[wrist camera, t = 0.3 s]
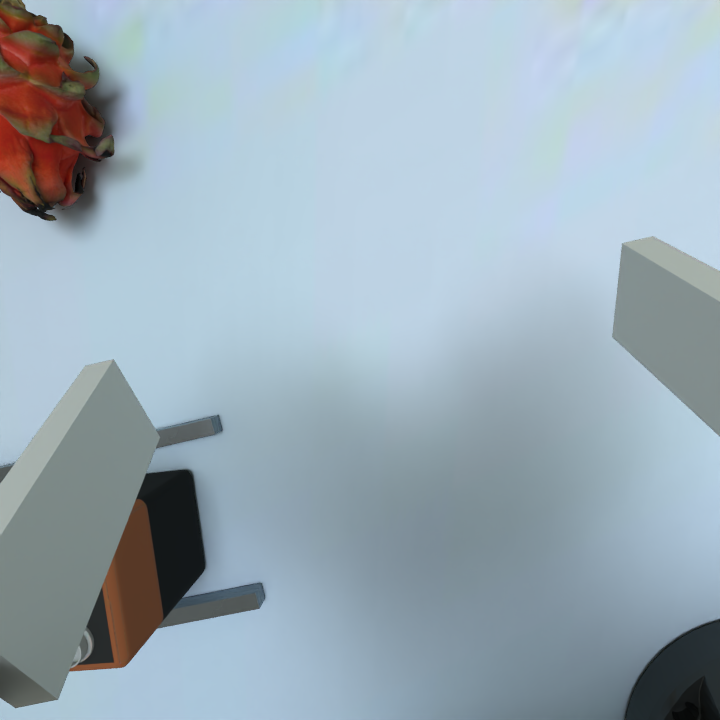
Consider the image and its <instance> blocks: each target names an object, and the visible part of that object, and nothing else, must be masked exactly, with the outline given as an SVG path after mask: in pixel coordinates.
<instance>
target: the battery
mask: <svg viewBox="0 0 720 720" xmlns="http://www.w3.org/2000/svg"><path fill="white" fill-rule="evenodd" d="M204 568H205V566H204V557H203V550H202V544H201V537H200V530H199V523H198V516H197V509H196V502H195V496H194V489H193V482H192V476H191V474H190V472H189V471H187V470H179V471H170V472H160V473H151V474H146V475H145V477H144V480H143V482H142V485H141V488H140V490H139V493H138V495H137V498H136V500H135V503H134V506H133V508H132V511H131V513H130V516H129V518H128V521H127V524H126V526H125V529H124V531H123V534H122V536H121V539H120V542H119V544H118V547H117V549H116V552H115V554H114V557H113V560H112V562H111V565H110V567H109V570H108V572H107V575H106V578H105V580H104V583H103V585H102V588H101V590H100V593H99V595H98V598H97V601H96V603H95V606H94V608H93V611H92V613H91V616H90V619H89V621H88V624H87V626H86V629H85V631H84V634H83V637H82V639H81V642H80V644H79V647H78V649H77V652H76V655H75V657H74V660H73V662H72V665H71V667H70V670H69V671H82V670H97V669H111V668H122V667H125V666H126V665H127V664H128V663H129V662H130V661H131V659H132V658H133V657H134V656H135V655H136V653H137V652H138V651H139V650H140V648H141V647H142V646H143V645H144V644H145V642H146V641H147V640H148V639H149V637H150V636H151V635H152V634H153V633H154V631H155V630H156V629H157V628H158V627H159V625H160V624H161V623H162V622H163V620H164V619H165V618H166V617H167V616H168V614H169V613H170V612H171V611H172V609H173V608H174V607H175V606H176V605H177V603H178V602H179V601H180V600H181V599H182V597H183V596H184V595H185V594H186V592H187V591H188V590H189V589H190V588H191V586H192V585H193V584H194V583H195V581H196V580H197V579H198V578H199V577H200V575H201V574H202V573H203V571H204Z"/></svg>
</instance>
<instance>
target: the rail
mask: <svg viewBox="0 0 720 720" xmlns="http://www.w3.org/2000/svg"><path fill="white" fill-rule="evenodd" d="M156 431H157V433H158V435H159V436H160V439H159V441H158V444H157V446H156V448H159V447H163V446H167V445H171V444H176V443H180V442H184V441H189V440H193V439H197V438H202V437H206V436H210V435H214V434H217V433H218V432H220V431H222V427H221V423H220V419H219V415H216V416H212V417H207V418H203V419H199V420H195V421H191V422H186V423H182V424H178V425H174V426H170V427H165V428H161V429H157V430H156ZM14 464H15V463H13V464H9V465H5V466H1V467H0V483H1V482H2V481H3V479H4V478H5V476H6V475H7V474H8V472H9V471H10V470H11V468H12V467H13V465H14ZM264 599H265V595H264V591H263V587H262V583H257V584H252V585H247V586H242V587H237V588H232V589H227V590H222V591H217V592H212V593H207V594H202V595H197V596H192V597H187V598H182V599H181V600H180V601H179V602H178V603H177V605H176V606H175V607H174V608H173V609H172V611H171V612H170V613H169V614H168V616H167V617H166V618H165V619H164V620H163V622H162V623H161V624H160V625H159V627H158V628H162V627H167V626H173V625H178V624H183V623H188V622H193V621H198V620H203V619H208V618H214V617H219V616H224V615H229V614H234V613H239V612H244V611H250V610H255V609H260V607H261V605H262V603H263V601H264Z"/></svg>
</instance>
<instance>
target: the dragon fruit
mask: <svg viewBox="0 0 720 720" xmlns="http://www.w3.org/2000/svg"><path fill="white" fill-rule="evenodd" d="M46 19H47V18H45V17H43V16H41V15H38V16H36V15H34V14H33V13H30V12H28V11H26V9H25V5H24V3H23V2H22V0H0V189H1V191H2V192H3V193H5V194H6V195H8V196H10V197H11V198H12V199H13V201H14V202H15V203H16V204H17V205H18V206H19V207H20V208H21V209H22V210H23V211H25V212H26V213H29V214H31V215H35V216H39V217H40V218H41V219H44V220H48V221H53V220H57V219H56V218H55V217H54V216H53V215H48V214H46V213H44V212H46V211H47V210H52V209H55V208H52V207H53V206H54V205H55V204H56V203H57V202H58V203H59V205H61V206H63V207H67V206H71V205H72V204H73V203H75V201H76V200H77V199H78V198H79V197H80V196H81V195H82V194H83V193H84V190H83V189H84V187H85V180H86V179H87V178H86V174H85V167H84V168H83V173H82V175H83V178H82V180H81V177H80V173H78V174H77V178H76V182H75V192H74V191H73V188H72V172H73V168H74V166H75V164H76V161H77V159H78V156H79V153H81V154H82V155H83V156H85V157H86V158H88V159H90V160H94V161H99V162H100V161H101V160H99V159H104V158H107V157H111V156H113V154H114V139H113V136H112V135H109V136H107V137H106V138H103V139H102V140H101V141H100V142H99V143H98V145H96V146H94V147H89V145H88V144H87V142H86V140H85V136H87V135H90V136H93V137H100V136H102V133H103V129H104V125H105V120H104V119H103V118H102V117H101V116H100V113H99V111H98V110H97V109H96V108H95V107H94V106H92V105H89V103H88V102H87V100H86V99H85V98H84V95H85V94H86V91H85V90H87V89H90V88H92V87H94V86H95V85H96V83H97V82H98V79H99V68H98V66H97V64H96V63H95V62H94V61H93V59H91V58H89V57H86V56H84V58H85V59H86V61H87V62H89V63H90V64H91V65H92V66H93V67H94V68H95V70H93V71H86V72H84V73H81V72H76V71H74V70H73V69H71V67H70V66H69V65H68V64H69V63H70V60H71V59H72V57H73V55H74V45H73V41H72V40H71V38H70V37H69V36H68V35H67V34H65V33H63V30H62V28H61V27H60V26H59V25H53V24H48V23H47V20H46ZM37 207H38V208H39V210H38V209H37ZM72 208H73V207H72ZM62 210H63V209H62Z"/></svg>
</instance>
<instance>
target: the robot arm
mask: <svg viewBox="0 0 720 720" xmlns="http://www.w3.org/2000/svg"><path fill="white" fill-rule="evenodd" d="M612 337H613V338H614V339H615V340H616V341H617V342H618V343H619V344H620V345H621V346H622V347H624V348H625V349H626V350H627V351H628V352H629V353H630V354H631V355H632V356H633V357H634V358H635V359H636V360H638V361H639V362H640V363H641V364H642V365H643V366H644V367H645V368H646V369H647V370H648V371H649V372H651V373H652V374H653V375H654V376H655V377H656V378H657V379H658V380H659V381H660V382H661V383H662V384H663V385H665V386H666V387H667V388H668V389H669V390H670V391H671V392H672V393H673V394H674V395H675V396H676V397H678V398H679V399H680V400H681V401H682V402H683V403H684V404H685V405H686V406H687V407H688V408H689V409H691V410H692V411H693V412H694V413H695V414H696V415H697V416H698V417H699V418H700V419H701V420H702V421H703V422H705V423H706V424H707V425H708V426H709V427H710V428H711V429H712V430H713V431H714V432H715V433H716V434H718V435H719V436H720V271H718V270H717V269H715V268H713V267H711V266H709V265H707V264H705V263H703V262H701V261H699V260H697V259H696V258H694V257H692V256H690V255H688V254H686V253H684V252H682V251H680V250H678V249H676V248H675V247H673V246H671V245H669V244H667V243H665V242H663V241H661V240H659V239H657V238H655V237H653V236H652V237H648V238H643V239H639V240H634V241H630V242H626V243H622V250H621V259H620V268H619V278H618V287H617V297H616V306H615V315H614V325H613V334H612ZM159 439H160V436H159V435H158V433H157V431H156V429H155V428H154V426H153V424H152V423H151V421H150V419H149V418H148V416H147V414H146V413H145V411H144V409H143V408H142V406H141V404H140V403H139V401H138V399H137V398H136V396H135V394H134V393H133V391H132V389H131V387H130V386H129V384H128V382H127V381H126V379H125V377H124V376H123V374H122V372H121V371H120V369H119V367H118V366H117V364H116V362H115V361H114V359H113V360H108V361H104V362H100V363H95V364H91V365H87V366H85V367H84V368H83V370H82V371H81V372H80V374H79V375H78V377H77V378H76V379H75V381H74V382H73V383H72V385H71V386H70V388H69V389H68V390H67V392H66V393H65V395H64V396H63V397H62V399H61V400H60V401H59V403H58V404H57V406H56V407H55V408H54V410H53V411H52V413H51V414H50V415H49V417H48V418H47V420H46V421H45V422H44V424H43V425H42V426H41V428H40V429H39V431H38V432H37V433H36V435H35V436H34V438H33V439H32V440H31V442H30V443H29V445H28V446H27V447H26V449H25V450H24V451H23V453H22V454H21V456H20V457H19V458H18V460H17V461H16V463H15V464H14V465H13V467H12V468H11V470H10V471H9V472H8V474H7V475H6V476H5V478H4V479H3V481H2V482H1V483H0V698H2V699H3V700H4V701H6V702H7V703H9V704H10V705H12V706H13V707H15V708H18V707H23V706H28V705H33V704H38V703H43V702H48V701H53V700H58V698H59V696H60V693H61V691H62V688H63V685H64V683H65V680H66V678H67V675H68V673H69V670H70V667H71V665H72V662H73V660H74V657H75V655H76V652H77V649H78V647H79V644H80V642H81V639H82V637H83V634H84V631H85V629H86V626H87V624H88V621H89V619H90V616H91V613H92V611H93V608H94V606H95V603H96V601H97V598H98V595H99V593H100V590H101V588H102V585H103V583H104V580H105V578H106V575H107V572H108V570H109V567H110V565H111V562H112V560H113V557H114V554H115V552H116V549H117V547H118V544H119V542H120V539H121V536H122V534H123V531H124V529H125V526H126V524H127V521H128V518H129V516H130V513H131V511H132V508H133V506H134V503H135V500H136V498H137V495H138V493H139V490H140V488H141V485H142V482H143V480H144V477H145V475H146V472H147V470H148V467H149V464H150V462H151V459H152V457H153V454H154V452H155V449H156V446H157V444H158V441H159ZM626 720H720V621H719V622H716V623H712V624H709V625H707V626H704V627H701V628H699V629H697V630H695V631H692V632H691V633H689V634H687V635H685V636H683V637H682V638H680V639H679V640H677V641H676V642H674V643H673V644H671V645H670V646H669V647H668V648H666V649H665V650H664V651H663V652H662V653H661V654H660V655H659V656H658V657H657V658H656V659H655V660H654V661H653V662H652V663H651V665H650V666H649V667H648V668H647V670H646V671H645V673H644V674H643V675H642V677H641V679H640V680H639V682H638V684H637V686H636V688H635V690H634V692H633V695H632V697H631V700H630V703H629V707H628V711H627V715H626Z"/></svg>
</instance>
